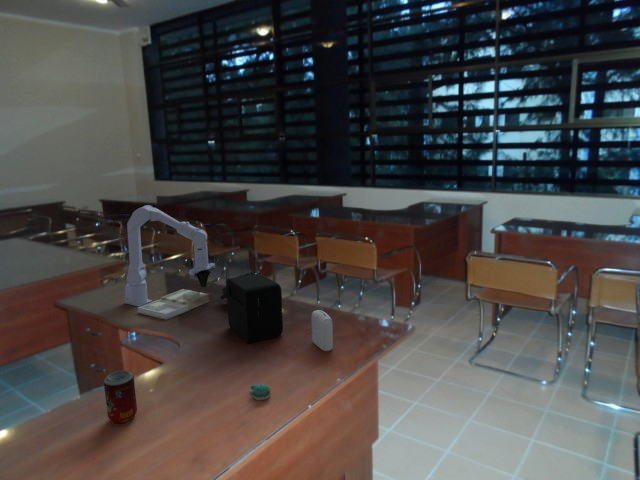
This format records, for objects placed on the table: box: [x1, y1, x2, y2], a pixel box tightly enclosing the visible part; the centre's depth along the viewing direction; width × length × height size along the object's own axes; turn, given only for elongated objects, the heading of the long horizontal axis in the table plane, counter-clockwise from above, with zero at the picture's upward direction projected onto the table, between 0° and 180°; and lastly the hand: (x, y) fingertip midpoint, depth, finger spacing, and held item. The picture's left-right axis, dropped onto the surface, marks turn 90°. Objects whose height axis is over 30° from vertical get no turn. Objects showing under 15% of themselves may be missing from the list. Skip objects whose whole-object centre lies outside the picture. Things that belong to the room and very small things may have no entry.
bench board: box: [160, 288, 210, 311], centre depth 208 cm, size 16×13×4 cm
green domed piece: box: [249, 383, 271, 401], centre depth 131 cm, size 6×7×4 cm
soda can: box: [103, 370, 138, 426], centre depth 120 cm, size 7×7×12 cm
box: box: [137, 298, 190, 321], centre depth 198 cm, size 17×12×2 cm
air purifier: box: [225, 272, 284, 344], centre depth 174 cm, size 20×15×20 cm
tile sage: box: [183, 290, 200, 300], centre depth 205 cm, size 5×5×2 cm
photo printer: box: [311, 309, 334, 352], centre depth 161 cm, size 10×4×12 cm, turn 26°
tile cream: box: [149, 302, 167, 311], centre depth 200 cm, size 5×5×2 cm
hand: (203, 286), depth 211 cm, fingers closed
